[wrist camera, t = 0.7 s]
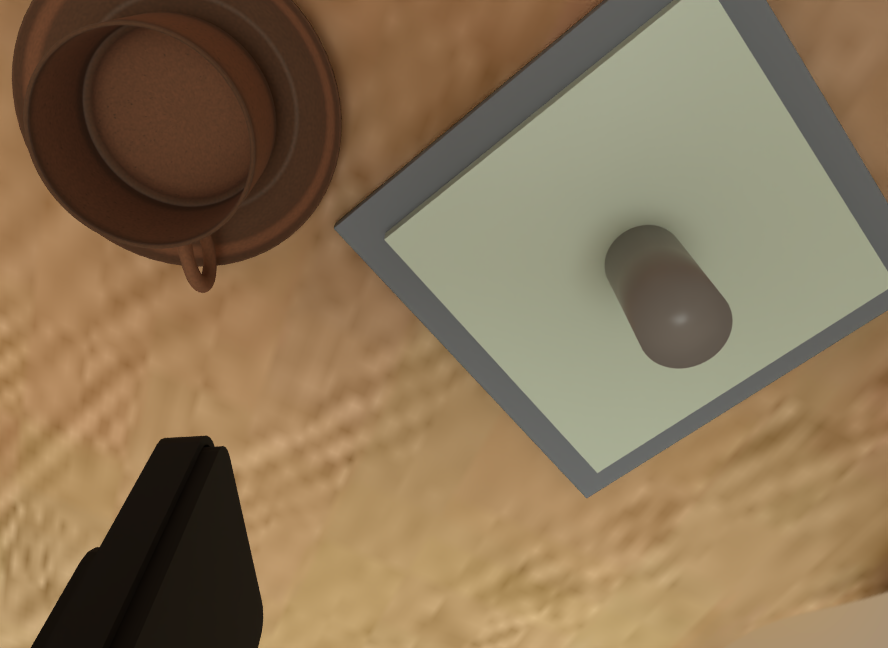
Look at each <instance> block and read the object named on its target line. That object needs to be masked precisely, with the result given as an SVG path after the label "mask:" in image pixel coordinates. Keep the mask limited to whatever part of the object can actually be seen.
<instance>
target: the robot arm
mask: <svg viewBox="0 0 888 648" xmlns="http://www.w3.org/2000/svg"><path fill="white" fill-rule="evenodd" d="M262 626H263V606H262V600H261V595H260V591H259V586H258V582H257V577H256V573H255V568H254V564H253V559H252V555H251V550H250V546H249V541H248V537H247V532H246V528H245V523H244V519H243V514H242V510H241V505H240V501H239V496H238V492H237V487H236V483H235V478H234V474H233V469H232V465H231V460H230V456H229V453H228V450H227V449H226V447H224V446H220V447H214V444H213V441H212V440H211V438H210V437H208V436H193V437H175V438H164V439H161V440H160V441H159V443H158V444H157V445H156V447H155V449H154V451H153V453H152V454H151V456H150V458H149V460H148V462H147V463H146V465H145V467H144V469H143V471H142V472H141V474H140V476H139V478H138V479H137V481H136V483H135V485H134V487H133V488H132V490H131V492H130V494H129V496H128V497H127V499H126V501H125V503H124V505H123V506H122V508H121V510H120V512H119V514H118V515H117V517H116V519H115V521H114V523H113V524H112V526H111V528H110V530H109V532H108V533H107V535H106V537H105V539H104V540H103V542H102V544H101V546H100V547H96V548H94V549H92V550H90V551H89V552H87V554H86V555H85V556H84V558H83V559H82V560H81V562H80V563H79V565H78V567H77V568H76V570H75V572H74V574H73V575H72V577H71V579H70V581H69V582H68V584H67V586H66V588H65V589H64V591H63V593H62V594H61V596H60V598H59V600H58V601H57V603H56V605H55V607H54V608H53V610H52V612H51V614H50V615H49V617H48V619H47V621H46V622H45V624H44V626H43V627H42V629H41V631H40V633H39V634H38V636H37V638H36V640H35V641H34V643H33V645H32V647H31V648H258V645H259V641H260V637H261V633H262Z"/></svg>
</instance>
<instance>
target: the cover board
mask: <svg viewBox="0 0 888 648" xmlns="http://www.w3.org/2000/svg"><path fill="white" fill-rule="evenodd" d="M384 240H385V241H386V242H387V243H388V244H389V245H390V247H391V248H392V249H393V250H394V251H395V252H396V253H397V254H398V255H399V256H400V257H401V259H402V260H403V261H404V262H405V263H406V264H407V265H408V266H409V267H410V268H411V270H412V271H413V272H414V273H415V274H416V275H417V276H418V277H419V278H420V279H421V280H422V282H423V283H424V284H425V285H426V286H427V287H428V288H429V289H430V290H431V291H432V293H433V294H434V295H435V296H436V297H437V298H438V299H439V300H440V301H441V302H442V303H443V305H444V306H445V307H446V308H447V309H448V310H449V311H450V312H451V313H452V314H453V316H454V317H455V318H456V319H457V320H458V321H459V322H460V323H461V324H462V325H463V327H464V328H465V329H466V330H467V331H468V332H469V333H470V334H471V335H472V336H473V337H474V339H475V340H476V341H477V342H478V343H479V344H480V345H481V346H482V347H483V348H484V350H485V351H486V352H487V353H488V354H489V355H490V356H491V357H492V358H493V359H494V360H495V362H496V363H497V364H498V365H499V366H500V367H501V368H502V369H503V370H504V371H505V373H506V374H507V375H508V376H509V377H510V378H511V379H512V380H513V381H514V382H515V383H516V385H517V386H518V387H519V388H520V389H521V390H522V391H523V392H524V393H525V394H526V396H527V397H528V398H529V399H530V400H531V401H532V402H533V403H534V404H535V405H536V406H537V408H538V409H539V410H540V411H541V412H542V413H543V414H544V415H545V416H546V417H547V419H548V420H549V421H550V422H551V423H552V424H553V425H554V426H555V427H556V428H557V429H558V431H559V432H560V433H561V434H562V435H563V436H564V437H565V438H566V439H567V440H568V442H569V443H570V444H571V445H572V446H573V447H574V448H575V449H576V450H577V451H578V452H579V454H580V455H581V456H582V457H583V458H584V459H585V460H586V461H587V462H588V463H589V465H590V466H591V467H592V468H593V469H594V470H595V471H596V472H597V473H598V472H600V471H601V470H603V469H605V468H606V467H608V466H609V465H611V464H613V463H614V462H616V461H617V460H619V459H620V458H622V457H624V456H625V455H627V454H628V453H630V452H631V451H633V450H635V449H636V448H638V447H639V446H641V445H643V444H644V443H646V442H647V441H649V440H650V439H652V438H654V437H655V436H657V435H658V434H660V433H661V432H663V431H665V430H666V429H668V428H669V427H671V426H673V425H674V424H676V423H677V422H679V421H680V420H682V419H684V418H685V417H687V416H688V415H690V414H691V413H693V412H695V411H696V410H698V409H699V408H701V407H703V406H704V405H706V404H707V403H709V402H710V401H712V400H714V399H715V398H717V397H718V396H720V395H721V394H723V393H725V392H726V391H728V390H729V389H731V388H733V387H734V386H736V385H737V384H739V383H740V382H742V381H744V380H745V379H747V378H748V377H750V376H751V375H753V374H755V373H756V372H758V371H759V370H761V369H763V368H764V367H766V366H767V365H769V364H770V363H772V362H774V361H775V360H777V359H778V358H780V357H781V356H783V355H785V354H786V353H788V352H789V351H791V350H793V349H794V348H796V347H797V346H799V345H800V344H802V343H804V342H805V341H807V340H808V339H810V338H812V337H813V336H815V335H816V334H818V333H819V332H821V331H823V330H824V329H826V328H827V327H829V326H830V325H832V324H834V323H835V322H837V321H838V320H840V319H842V318H843V317H845V316H846V315H848V314H849V313H851V312H853V311H854V310H856V309H857V308H859V307H860V306H862V305H864V304H865V303H867V302H868V301H870V300H872V299H873V298H875V297H876V296H878V295H879V294H881V293H883V292H884V291H886V290H887V289H888V271H887V269H886V268H885V266H884V265H883V263H882V261H881V260H880V258H879V257H878V255H877V253H876V252H875V250H874V249H873V247H872V245H871V244H870V242H869V241H868V239H867V237H866V236H865V234H864V233H863V231H862V229H861V228H860V226H859V225H858V223H857V221H856V220H855V218H854V217H853V215H852V213H851V212H850V210H849V209H848V207H847V205H846V204H845V202H844V201H843V199H842V197H841V196H840V194H839V193H838V191H837V189H836V188H835V186H834V185H833V183H832V181H831V180H830V178H829V176H828V175H827V173H826V172H825V170H824V168H823V167H822V165H821V164H820V162H819V160H818V159H817V157H816V156H815V154H814V152H813V151H812V149H811V148H810V146H809V144H808V143H807V141H806V140H805V138H804V136H803V135H802V133H801V132H800V130H799V128H798V127H797V125H796V124H795V122H794V120H793V119H792V117H791V116H790V114H789V112H788V111H787V109H786V108H785V106H784V104H783V103H782V101H781V100H780V98H779V96H778V95H777V93H776V92H775V90H774V88H773V87H772V85H771V84H770V82H769V80H768V79H767V77H766V76H765V74H764V72H763V71H762V69H761V68H760V66H759V64H758V63H757V61H756V59H755V58H754V56H753V55H752V53H751V51H750V50H749V48H748V47H747V45H746V43H745V42H744V40H743V39H742V37H741V35H740V34H739V32H738V31H737V29H736V27H735V26H734V24H733V23H732V21H731V19H730V18H729V16H728V15H727V13H726V11H725V10H724V8H723V7H722V5H721V3H720V2H719V0H673V1H672V2H671V3H669V4H668V5H667V6H666V7H664V8H663V9H662V10H661V11H659V12H658V13H657V14H656V15H654V16H653V17H652V18H651V19H649V20H648V21H647V22H646V23H645V24H643V25H642V26H641V27H640V28H638V29H637V30H636V31H635V32H633V33H632V34H631V35H630V36H628V37H627V38H626V39H625V40H624V41H622V42H621V43H620V44H619V45H617V46H616V47H615V48H614V49H612V50H611V51H610V52H609V53H607V54H606V55H605V56H604V57H602V58H601V59H600V60H599V61H598V62H596V63H595V64H594V65H593V66H591V67H590V68H589V69H588V70H586V71H585V72H584V73H583V74H581V75H580V76H579V77H578V78H577V79H575V80H574V81H573V82H572V83H570V84H569V85H568V86H567V87H565V88H564V89H563V90H562V91H560V92H559V93H558V94H557V95H555V96H554V97H553V98H552V99H551V100H549V101H548V102H547V103H546V104H544V105H543V106H542V107H541V108H539V109H538V110H537V111H536V112H534V113H533V114H532V115H531V116H530V117H528V118H527V119H526V120H525V121H523V122H522V123H521V124H520V125H518V126H517V127H516V128H515V129H513V130H512V131H511V132H510V133H509V134H507V135H506V136H505V137H504V138H502V139H501V140H500V141H499V142H497V143H496V144H495V145H494V146H492V147H491V148H490V149H489V150H487V151H486V152H485V153H484V154H483V155H481V156H480V157H479V158H478V159H476V160H475V161H474V162H473V163H471V164H470V165H469V166H468V167H466V168H465V169H464V170H463V171H462V172H460V173H459V174H458V175H457V176H455V177H454V178H453V179H452V180H450V181H449V182H448V183H447V184H445V185H444V186H443V187H442V188H440V189H439V190H438V191H437V192H436V193H434V194H433V195H432V196H431V197H429V198H428V199H427V200H426V201H424V202H423V203H422V204H421V205H419V206H418V207H417V208H416V209H415V210H413V211H412V212H411V213H410V214H408V215H407V216H406V217H405V218H403V219H402V220H401V221H400V222H398V223H397V224H396V225H395V226H393V227H392V228H391V229H390V230H389V231H387V232H386V233H385V238H384Z"/></svg>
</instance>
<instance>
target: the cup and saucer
mask: <svg viewBox="0 0 888 648" xmlns="http://www.w3.org/2000/svg"><path fill="white" fill-rule="evenodd" d="M12 87H13V98H14V104H15V111H16V115H17V119H18V123H19V127H20V130H21V133H22V135H23V138H24V141H25V144H26V146H27V148H28V150H29V153H30V156H31V159H32V161H33V164H34V166H35V168H36V170H37V172H38V174H39V176H40V178H41V179H42V181H43V183H44V184H45V186H46V187H47V189H48V190H49V191H50V193H51V194H52V195H53V197H54V198H55V199H56V200H57V201H58V202H59V203H60V205H61V206H62V207H63V208H64V209H65V210H66V211H68V212H69V213H70V214H71V215H72V216H73V217H74V218H76V219H77V220H78V221H80V222H81V223H82V224H84V225H85V226H87V227H88V228H90V229H91V230H93V231H95V232H97V233H98V234H100V235H101V236H103V237H105V238H106V239H108V240H109V241H111V242H113V243H115V244H117V245H119V246H120V247H122V248H124V249H126V250H129V251H131V252H133V253H136V254H138V255H141V256H144V257H147V258H150V259H153V260H157V261H161V262H165V263H170V264H176V265H182V267H183V270H184V273H185V276H186V278H187V280H188V282H189V283H190V285H191V286H192V287H193V288H194V289H195V290H196V291H198V292H201V293H205V292H207V291H209V290H210V289H211V288H212V286H213V284H214V281H215V278H216V268H217V265H225V264H230V263H235V262H239V261H243V260H246V259H249V258H252V257H255V256H257V255H259V254H262V253H264V252H266V251H268V250H270V249H271V248H273V247H275V246H277V245H279V244H280V243H281V242H283V241H284V240H286V239H287V238H288V237H290V236H291V235H292V234H293V233H294V232H295V231H297V230H298V229H299V228H300V227H301V226H302V225H303V224H304V223H305V221H306V220H307V219H308V218H309V217H310V216H311V214H312V213H313V212H314V210H315V209H316V208H317V206H318V205H319V203H320V201H321V200H322V198H323V196H324V195H325V193H326V191H327V188H328V186H329V184H330V182H331V179H332V176H333V173H334V170H335V167H336V164H337V159H338V154H339V149H340V140H341V108H340V99H339V94H338V88H337V84H336V80H335V77H334V73H333V70H332V67H331V64H330V62H329V59H328V57H327V54H326V52H325V50H324V48H323V46H322V44H321V42H320V40H319V38H318V36H317V34H316V33H315V31H314V29H313V28H312V26H311V24H310V23H309V21H308V20H307V19H306V17H305V16H304V15H303V13H302V12H301V10H300V9H299V8H298V7H297V6H296V4H295V3H294V2H293V1H292V0H33V1H32V2H31V4H30V6H29V8H28V10H27V12H26V14H25V16H24V18H23V21H22V24H21V27H20V29H19V32H18V36H17V40H16V44H15V49H14V56H13V65H12ZM198 266H203V271H202V274H201V273H200V271H199V269H198Z"/></svg>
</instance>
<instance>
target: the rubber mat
mask: <svg viewBox="0 0 888 648" xmlns="http://www.w3.org/2000/svg"><path fill="white" fill-rule="evenodd" d="M672 1H673V0H604V1H602V2H601V3H600V4H599V5H598V6H596V7H595V8H594V9H593V10H592V11H590V12H589V13H588V14H587V15H586V16H584V17H583V18H582V19H581V20H580V21H578V22H577V23H576V24H575V25H574V26H572V27H571V28H570V29H569V30H568V31H566V32H565V33H564V34H563V35H562V36H560V37H559V38H558V39H557V40H556V41H554V42H553V43H552V44H551V45H550V46H548V47H547V48H546V49H545V50H544V51H542V52H541V53H540V54H539V55H538V56H536V57H535V58H534V59H533V60H532V61H530V62H529V63H528V64H527V65H526V66H524V67H523V68H522V69H521V70H520V71H518V72H517V73H516V74H515V75H514V76H512V77H511V78H510V79H509V80H508V81H506V82H505V83H504V84H503V85H502V86H500V87H499V88H498V89H497V90H496V91H494V92H493V93H492V94H491V95H489V96H488V97H487V98H486V99H485V100H483V101H482V102H481V103H480V104H479V105H477V106H476V107H475V108H474V109H473V110H471V111H470V112H469V113H468V114H467V115H465V116H464V117H463V118H462V119H461V120H459V121H458V122H457V123H456V124H455V125H453V126H452V127H451V128H450V129H449V130H447V131H446V132H445V133H444V134H443V135H441V136H440V137H439V138H438V139H437V140H435V141H434V142H433V143H432V144H431V145H429V146H428V147H427V148H426V149H425V150H423V151H422V152H421V153H420V154H419V155H417V156H416V157H415V158H414V159H413V160H411V161H410V162H409V163H408V164H407V165H405V166H404V167H403V168H402V169H401V170H399V171H398V172H397V173H396V174H395V175H393V176H392V177H391V178H390V179H389V180H387V181H386V182H385V183H384V184H383V185H381V186H380V187H379V188H378V189H377V190H375V191H374V192H373V193H372V194H371V195H369V196H368V197H367V198H366V199H365V200H363V201H362V202H361V203H360V204H359V205H357V206H356V207H355V208H354V209H353V210H351V211H350V212H349V213H348V214H347V215H345V216H344V217H343V218H342V219H341V220H339V221H338V222H337V223H336V224H335V226H334V229H335V230H336V231H337V232H338V234H339V235H340V236H341V237H342V238H343V239H344V240H345V241H346V242H347V243H348V244H349V245H350V246H351V247H352V248H353V250H354V251H355V252H356V253H357V254H358V255H359V256H360V257H361V258H362V259H363V260H364V261H365V262H366V263H367V264H368V266H369V267H370V268H371V269H372V270H373V271H374V272H375V273H376V274H377V275H378V276H379V277H380V278H381V279H382V281H383V282H384V283H385V284H386V285H387V286H388V287H389V288H390V289H391V290H392V291H393V292H394V293H395V294H396V295H397V297H398V298H399V299H400V300H401V301H402V302H403V303H404V304H405V305H406V306H407V307H408V308H409V309H410V310H411V311H412V313H413V314H414V315H415V316H416V317H417V318H418V319H419V320H420V321H421V322H422V323H423V324H424V325H425V326H426V327H427V329H428V330H429V331H430V332H431V333H432V334H433V335H434V336H435V337H436V338H437V339H438V340H439V341H440V342H441V343H442V345H443V346H444V347H445V348H446V349H447V350H448V351H449V352H450V353H451V354H452V355H453V356H454V357H455V358H456V360H457V361H458V362H459V363H460V364H461V365H462V366H463V367H464V368H465V369H466V370H467V371H468V372H469V373H470V374H471V376H472V377H473V378H474V379H475V380H476V381H477V382H478V383H479V384H480V385H481V386H482V387H483V388H484V389H485V390H486V392H487V393H488V394H489V395H490V396H491V397H492V398H493V399H494V400H495V401H496V402H497V403H498V404H499V405H500V406H501V408H502V409H503V410H504V411H505V412H506V413H507V414H508V415H509V416H510V417H511V418H512V419H513V420H514V421H515V423H516V424H517V425H518V426H519V427H520V428H521V429H522V430H523V431H524V432H525V433H526V434H527V435H528V436H529V437H530V439H531V440H532V441H533V442H534V443H535V444H536V445H537V446H538V447H539V448H540V449H541V450H542V451H543V452H544V453H545V455H546V456H547V457H548V458H549V459H550V460H551V461H552V462H553V463H554V464H555V465H556V466H557V467H558V468H559V469H560V471H561V472H562V473H563V474H564V475H565V476H566V477H567V478H568V479H569V480H570V481H571V482H572V483H573V484H574V485H575V487H576V488H577V489H578V490H579V491H580V492H581V493H582V494H583V495H584V496H585V497H586V498H588V497H590V496H591V495H593V494H594V493H596V492H598V491H599V490H601V489H602V488H604V487H606V486H607V485H609V484H610V483H612V482H614V481H615V480H617V479H618V478H620V477H622V476H623V475H625V474H626V473H628V472H630V471H631V470H633V469H634V468H636V467H638V466H639V465H641V464H642V463H644V462H646V461H647V460H649V459H650V458H652V457H654V456H655V455H657V454H658V453H660V452H662V451H663V450H665V449H666V448H668V447H670V446H671V445H673V444H674V443H676V442H678V441H679V440H681V439H682V438H684V437H686V436H687V435H689V434H690V433H692V432H694V431H695V430H697V429H698V428H700V427H702V426H703V425H705V424H706V423H708V422H710V421H711V420H713V419H714V418H716V417H718V416H719V415H721V414H722V413H724V412H726V411H727V410H729V409H730V408H732V407H734V406H735V405H737V404H738V403H740V402H742V401H743V400H745V399H746V398H748V397H750V396H751V395H753V394H754V393H756V392H758V391H759V390H761V389H762V388H764V387H766V386H767V385H769V384H770V383H772V382H774V381H775V380H777V379H778V378H780V377H782V376H783V375H785V374H786V373H788V372H790V371H791V370H793V369H794V368H796V367H798V366H799V365H801V364H802V363H804V362H806V361H807V360H809V359H810V358H812V357H814V356H815V355H817V354H818V353H820V352H822V351H823V350H825V349H826V348H828V347H830V346H831V345H833V344H834V343H836V342H838V341H839V340H841V339H842V338H844V337H845V336H847V335H849V334H850V333H852V332H853V331H855V330H857V329H858V328H860V327H861V326H863V325H865V324H866V323H868V322H869V321H871V320H873V319H874V318H876V317H877V316H879V315H881V314H882V313H884V312H885V311H887V310H888V289H887V290H886V291H884V292H883V293H881V294H879V295H878V296H876V297H875V298H873V299H872V300H870V301H868V302H867V303H865V304H864V305H862V306H860V307H859V308H857V309H856V310H854V311H853V312H851V313H849V314H848V315H846V316H845V317H843V318H842V319H840V320H838V321H837V322H835V323H834V324H832V325H830V326H829V327H827V328H826V329H824V330H823V331H821V332H819V333H818V334H816V335H815V336H813V337H812V338H810V339H808V340H807V341H805V342H804V343H802V344H800V345H799V346H797V347H796V348H794V349H793V350H791V351H789V352H788V353H786V354H785V355H783V356H781V357H780V358H778V359H777V360H775V361H774V362H772V363H770V364H769V365H767V366H766V367H764V368H763V369H761V370H759V371H758V372H756V373H755V374H753V375H751V376H750V377H748V378H747V379H745V380H744V381H742V382H740V383H739V384H737V385H736V386H734V387H733V388H731V389H729V390H728V391H726V392H725V393H723V394H721V395H720V396H718V397H717V398H715V399H714V400H712V401H710V402H709V403H707V404H706V405H704V406H703V407H701V408H699V409H698V410H696V411H695V412H693V413H691V414H690V415H688V416H687V417H685V418H684V419H682V420H680V421H679V422H677V423H676V424H674V425H673V426H671V427H669V428H668V429H666V430H665V431H663V432H661V433H660V434H658V435H657V436H655V437H654V438H652V439H650V440H649V441H647V442H646V443H644V444H643V445H641V446H639V447H638V448H636V449H635V450H633V451H631V452H630V453H628V454H627V455H625V456H624V457H622V458H620V459H619V460H617V461H616V462H614V463H613V464H611V465H609V466H608V467H606V468H605V469H603V470H601V471H600V472H598V473H597V472H596V471H595V470H594V469H593V468H592V467H591V466H590V465H589V463H588V462H587V461H586V460H585V459H584V458H583V457H582V456H581V455H580V454H579V452H578V451H577V450H576V449H575V448H574V447H573V446H572V445H571V444H570V443H569V442H568V440H567V439H566V438H565V437H564V436H563V435H562V434H561V433H560V432H559V431H558V429H557V428H556V427H555V426H554V425H553V424H552V423H551V422H550V421H549V420H548V419H547V417H546V416H545V415H544V414H543V413H542V412H541V411H540V410H539V409H538V408H537V406H536V405H535V404H534V403H533V402H532V401H531V400H530V399H529V398H528V397H527V396H526V394H525V393H524V392H523V391H522V390H521V389H520V388H519V387H518V386H517V385H516V383H515V382H514V381H513V380H512V379H511V378H510V377H509V376H508V375H507V374H506V373H505V371H504V370H503V369H502V368H501V367H500V366H499V365H498V364H497V363H496V362H495V360H494V359H493V358H492V357H491V356H490V355H489V354H488V353H487V352H486V351H485V350H484V348H483V347H482V346H481V345H480V344H479V343H478V342H477V341H476V340H475V339H474V337H473V336H472V335H471V334H470V333H469V332H468V331H467V330H466V329H465V328H464V327H463V325H462V324H461V323H460V322H459V321H458V320H457V319H456V318H455V317H454V316H453V314H452V313H451V312H450V311H449V310H448V309H447V308H446V307H445V306H444V305H443V303H442V302H441V301H440V300H439V299H438V298H437V297H436V296H435V295H434V294H433V293H432V291H431V290H430V289H429V288H428V287H427V286H426V285H425V284H424V283H423V282H422V280H421V279H420V278H419V277H418V276H417V275H416V274H415V273H414V272H413V271H412V270H411V268H410V267H409V266H408V265H407V264H406V263H405V262H404V261H403V260H402V259H401V257H400V256H399V255H398V254H397V253H396V252H395V251H394V250H393V249H392V248H391V247H390V245H389V244H388V243H387V242H386V241H385V240H384V238H385V233H386V232H387V231H389V230H390V229H391V228H392V227H393V226H395V225H396V224H397V223H398V222H400V221H401V220H402V219H403V218H405V217H406V216H407V215H408V214H410V213H411V212H412V211H413V210H415V209H416V208H417V207H418V206H419V205H421V204H422V203H423V202H424V201H426V200H427V199H428V198H429V197H431V196H432V195H433V194H434V193H436V192H437V191H438V190H439V189H440V188H442V187H443V186H444V185H445V184H447V183H448V182H449V181H450V180H452V179H453V178H454V177H455V176H457V175H458V174H459V173H460V172H462V171H463V170H464V169H465V168H466V167H468V166H469V165H470V164H471V163H473V162H474V161H475V160H476V159H478V158H479V157H480V156H481V155H483V154H484V153H485V152H486V151H487V150H489V149H490V148H491V147H492V146H494V145H495V144H496V143H497V142H499V141H500V140H501V139H502V138H504V137H505V136H506V135H507V134H509V133H510V132H511V131H512V130H513V129H515V128H516V127H517V126H518V125H520V124H521V123H522V122H523V121H525V120H526V119H527V118H528V117H530V116H531V115H532V114H533V113H534V112H536V111H537V110H538V109H539V108H541V107H542V106H543V105H544V104H546V103H547V102H548V101H549V100H551V99H552V98H553V97H554V96H555V95H557V94H558V93H559V92H560V91H562V90H563V89H564V88H565V87H567V86H568V85H569V84H570V83H572V82H573V81H574V80H575V79H577V78H578V77H579V76H580V75H581V74H583V73H584V72H585V71H586V70H588V69H589V68H590V67H591V66H593V65H594V64H595V63H596V62H598V61H599V60H600V59H601V58H602V57H604V56H605V55H606V54H607V53H609V52H610V51H611V50H612V49H614V48H615V47H616V46H617V45H619V44H620V43H621V42H622V41H624V40H625V39H626V38H627V37H628V36H630V35H631V34H632V33H633V32H635V31H636V30H637V29H638V28H640V27H641V26H642V25H643V24H645V23H646V22H647V21H648V20H649V19H651V18H652V17H653V16H654V15H656V14H657V13H658V12H659V11H661V10H662V9H663V8H664V7H666V6H667V5H668V4H669V3H671V2H672ZM719 2H720V3H721V5H722V7H723V8H724V10H725V11H726V13H727V15H728V16H729V18H730V19H731V21H732V23H733V24H734V26H735V27H736V29H737V31H738V32H739V34H740V35H741V37H742V39H743V40H744V42H745V43H746V45H747V47H748V48H749V50H750V51H751V53H752V55H753V56H754V58H755V59H756V61H757V63H758V64H759V66H760V68H761V69H762V71H763V72H764V74H765V76H766V77H767V79H768V80H769V82H770V84H771V85H772V87H773V88H774V90H775V92H776V93H777V95H778V96H779V98H780V100H781V101H782V103H783V104H784V106H785V108H786V109H787V111H788V112H789V114H790V116H791V117H792V119H793V120H794V122H795V124H796V125H797V127H798V128H799V130H800V132H801V133H802V135H803V136H804V138H805V140H806V141H807V143H808V144H809V146H810V148H811V149H812V151H813V152H814V154H815V156H816V157H817V159H818V160H819V162H820V164H821V165H822V167H823V168H824V170H825V172H826V173H827V175H828V176H829V178H830V180H831V181H832V183H833V185H834V186H835V188H836V189H837V191H838V193H839V194H840V196H841V197H842V199H843V201H844V202H845V204H846V205H847V207H848V209H849V210H850V212H851V213H852V215H853V217H854V218H855V220H856V221H857V223H858V225H859V226H860V228H861V229H862V231H863V233H864V234H865V236H866V237H867V239H868V241H869V242H870V244H871V245H872V247H873V249H874V250H875V252H876V253H877V255H878V257H879V258H880V260H881V261H882V263H883V265H884V266H885V268H886V269H887V271H888V203H887V201H886V199H885V198H884V196H883V194H882V193H881V191H880V189H879V188H878V186H877V184H876V183H875V181H874V179H873V178H872V176H871V174H870V173H869V171H868V169H867V168H866V166H865V164H864V163H863V161H862V159H861V158H860V156H859V154H858V153H857V151H856V149H855V148H854V146H853V144H852V143H851V141H850V139H849V138H848V136H847V134H846V133H845V131H844V129H843V128H842V126H841V124H840V123H839V121H838V119H837V118H836V116H835V114H834V113H833V111H832V109H831V108H830V106H829V104H828V103H827V101H826V99H825V98H824V96H823V94H822V93H821V91H820V89H819V88H818V86H817V84H816V83H815V81H814V79H813V78H812V76H811V74H810V73H809V71H808V69H807V68H806V66H805V64H804V63H803V61H802V59H801V58H800V56H799V54H798V53H797V51H796V49H795V48H794V46H793V44H792V43H791V41H790V39H789V38H788V36H787V34H786V33H785V31H784V29H783V28H782V26H781V24H780V23H779V21H778V19H777V18H776V16H775V14H774V13H773V11H772V9H771V8H770V6H769V4H768V3H767V1H766V0H719Z"/></svg>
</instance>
